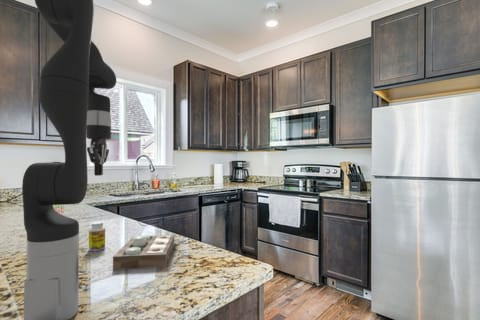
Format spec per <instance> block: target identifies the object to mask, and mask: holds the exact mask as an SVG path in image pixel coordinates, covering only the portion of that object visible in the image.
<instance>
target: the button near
mask: <svg viewBox="0 0 480 320" xmlns="http://www.w3.org/2000/svg"><path fill="white" fill-rule="evenodd" d="M140 253H141V248H139V247H132V248H128V249H126V255H132V254H140Z"/></svg>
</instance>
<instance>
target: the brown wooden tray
mask: <svg viewBox="0 0 480 320" xmlns="http://www.w3.org/2000/svg"><path fill="white" fill-rule="evenodd" d="M136 236H137V235H136ZM136 236H135V235H133V236H132V237H131V238H130V239H129V240H128V241H127V242H126V243H125V244H124V245H123V246H122V247H121V248H120V249H119V250H118V251H117V252H116V253H115V254H114V255H113V256H112V270H113V271H114V270H132V269H134V270H135V269H152V268H166V267H167V264H168V262H169V260H170V257H171V255H172V252H173V251H174V250H173V249H174V247H175V235H174V234H166V235H165V234H164V235H161V234H160V235H149V236H150V241H146V246H145V247H139V248H141V253H140V254H132V255H126V249H128V248H132V238H133V237H136Z"/></svg>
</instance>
